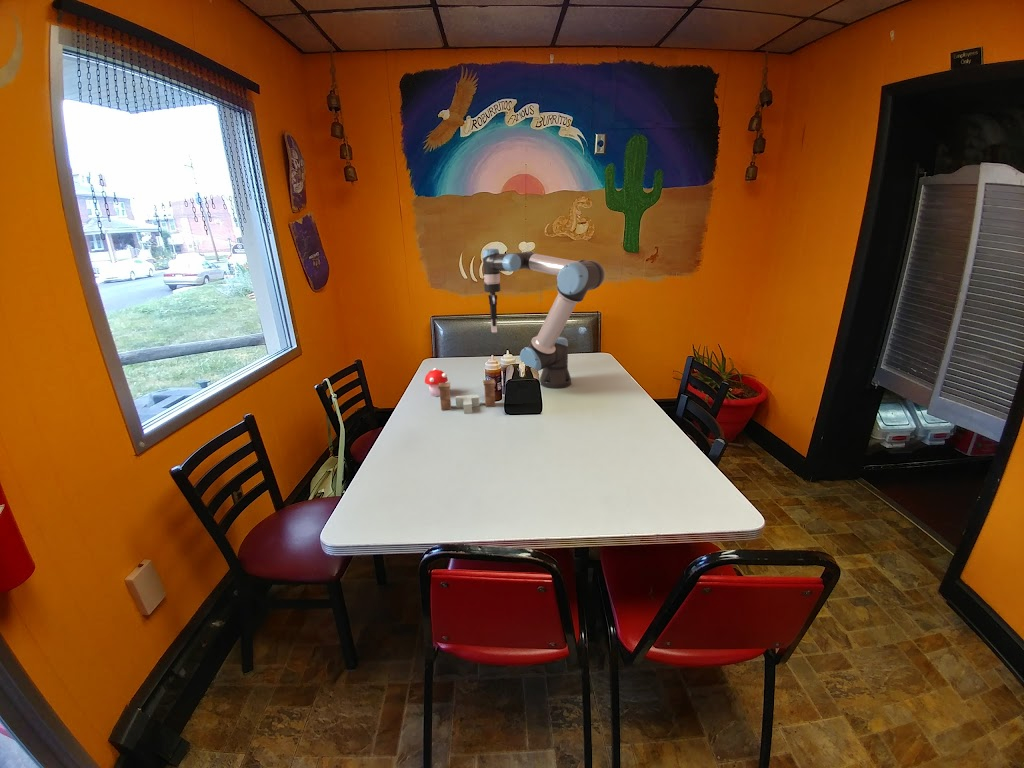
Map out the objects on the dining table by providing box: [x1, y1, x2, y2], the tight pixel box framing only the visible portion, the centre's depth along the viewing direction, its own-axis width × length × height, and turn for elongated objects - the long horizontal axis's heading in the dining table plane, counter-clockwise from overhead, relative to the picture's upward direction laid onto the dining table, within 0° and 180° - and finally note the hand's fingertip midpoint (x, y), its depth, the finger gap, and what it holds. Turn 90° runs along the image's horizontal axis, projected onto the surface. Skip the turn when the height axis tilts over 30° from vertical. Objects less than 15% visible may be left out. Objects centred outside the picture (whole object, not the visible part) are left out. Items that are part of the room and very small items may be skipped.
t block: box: [455, 394, 480, 415], centre depth 190 cm, size 10×10×4 cm
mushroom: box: [424, 367, 449, 398], centre depth 206 cm, size 11×11×12 cm
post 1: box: [438, 381, 452, 411], centre depth 190 cm, size 5×5×11 cm
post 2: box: [482, 379, 496, 408], centre depth 192 cm, size 5×5×11 cm
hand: (494, 332), depth 218 cm, fingers closed
